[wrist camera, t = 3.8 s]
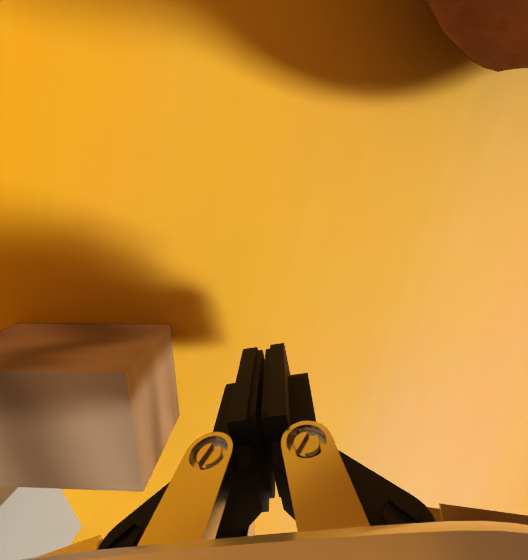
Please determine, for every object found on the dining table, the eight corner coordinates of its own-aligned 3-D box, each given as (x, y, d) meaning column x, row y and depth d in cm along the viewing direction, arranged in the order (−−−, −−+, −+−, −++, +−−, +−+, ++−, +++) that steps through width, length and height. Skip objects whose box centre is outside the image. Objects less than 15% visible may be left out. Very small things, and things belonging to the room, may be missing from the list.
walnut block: (171, 322, 16) (125, 372, 11) (180, 412, 17) (143, 491, 13) (19, 322, 16) (-89, 370, 12) (41, 409, 18) (-47, 484, 13)
